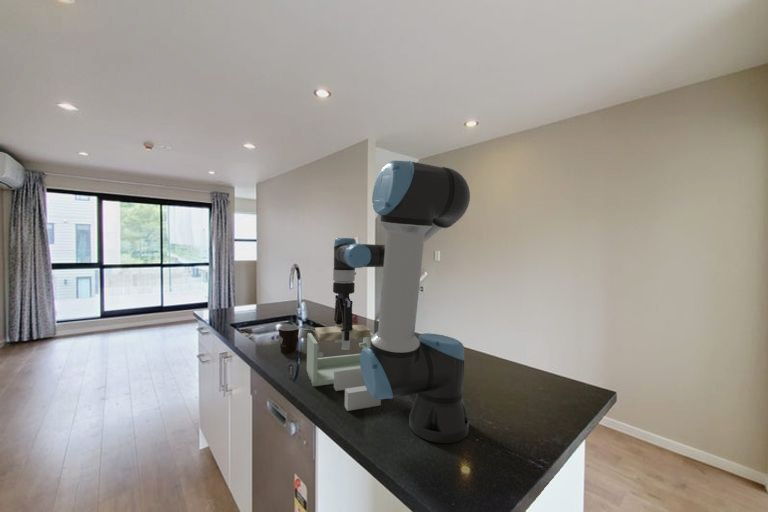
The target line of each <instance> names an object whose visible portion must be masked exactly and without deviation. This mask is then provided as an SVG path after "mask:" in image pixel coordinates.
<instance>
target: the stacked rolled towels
mask: <svg viewBox="0 0 768 512" xmlns="http://www.w3.org/2000/svg"><path fill="white" fill-rule="evenodd" d="M352 328H353V330H351V331H350V340H351V339H360V338H361V339H363V337H370V332H371V329H370V328H369V327H367V326H366V325H364V324H352ZM342 329H343V326H336V325H334V326H324V327H322V326H321V327H314V335H315V337H316V338H317V340H318V342H325V341H335V340H339V339H342V332H341V330H342Z"/></svg>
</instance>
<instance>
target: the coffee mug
mask: <svg viewBox="0 0 768 512" xmlns="http://www.w3.org/2000/svg"><path fill="white" fill-rule="evenodd" d="M299 334H300V326H298V325H291V324H290V325H289V324H288V325H282V326H279V327H278V335H279V337H278V338H279V346H280V353H282V354H293V352H294V353H296V352H297V349H298V348H297V347H298V343H299ZM295 351H296V352H295Z"/></svg>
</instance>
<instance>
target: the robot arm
mask: <svg viewBox="0 0 768 512" xmlns="http://www.w3.org/2000/svg"><path fill="white" fill-rule="evenodd" d="M372 189H373V190H372V197H371V200H372V201H371V202H372V208H373V210H374V212H375V213H376V215H379V216H380V224H381V226H382V227H383V228H384V229H385V231H386V232H385V233H386V234H385V242H384V243H385V244H371V243H370V244H369V243H356V242H357V241H356V239H355V238H351V237H336V238H335V239H334V243H333V269H332V270H333V273H332V280H333V283H332V284H333V285H332V292H333V293H334V294H336V295H335V297H334V298H335V303H334V318H333V319H334V320H333V321H335V322H334V323H335V326H343V329H342V330H341V332H342V339H339V340H334V341H335V343H341V351H346V350H347V351H348V350H351V349H350V348H351V339H350V331H351V330H353V328H352V325H353V302H354V301H353V300H351V298H350V294H354V293H355V285H356V284H355V282H354V281H355V276H356V275H357V272H356V269H362V268H382V269H383V270H382V280H381V282H382V283H381V291H380V292H381V293H380V303H379V305H380V306H379V314H378V325H377V326H378V328H377V331H376V332H375V333H373V334H374V335H372V337H371V344H370V348H365V349H363V348H362V349H361V352H360V353H359V354H360V367H361V373H362V377H363V381H364V384H365V386H366V389H367V390H368V392H369V394H370V395H371V396H372V397H373V398H375V399H378V400H380V399H381V400H385V399H387V400H388V399H389V400H392V399H393V398H398V397H403V396H408V395H414V394H416V395H415V398H414V401H413V403H412V407H411V410H410V411H409V417H408V421H409V422H408V425H409V428H410V430H411V431H412V432H413V433H414V434H415V435H416V436H417V437H419V438H421V439H424V440H426V441H428V442H431V443H436V444H437V443H438V444H453V443H458V442H460V441H462V440H464V439H465V438H467V436H468V435H469V430H470V428H469V427H470V423H469V422H470V421H469V417H468V413H467V410H466V407H465V406H466V405H465V403H464V398H463V396H464V395H463V394H464V375H465V374H464V373H465V361H466V359H465V347H464V344H463V343H462V342H461V341H460V340H458V339H457V338H453V337H450V336H447V335H443V334H437V333H429V332H428V333H426V332H425V333H421V334H419V335H418V337H417V336H416V335H415V333H416V321H417V314H418V313H417V312H418V311H417V310H418V301H419V292H420V283H421V274H422V273H421V272H422V265H423V264H422V263H423V253H424V245H425V244H424V243H425V242H426V241H428V240H429V239H430V238H432V237H433V236H434V235H435V234H437V233H438V232H439V231H441V230H442V229H448V228H450V227H452V226H453V225H454V224H456V223H457V222H458V221H459V220H460V219H462V217H463V216H464V214H465V213H466V211H467V209H468V207H469V205H470V199H471V192H470V187H469V185H468V182H467V180H466V179H465V177H464V176H463V175H462V174H461V173H459V172H458V171H456V170H455V169H453V168H451V167H445V166H437V165H431V164H428V163H427V164H426V163H421V162H415V161H412V160H391V161H389V162H387V163H386V164H385V165H384V166H382V168H381V170H380V172H378V175H377V177H376V179H375V181H374V186H373V188H372Z"/></svg>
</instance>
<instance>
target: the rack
mask: <svg viewBox="0 0 768 512" xmlns="http://www.w3.org/2000/svg"><path fill="white" fill-rule="evenodd" d="M333 389H334V390H335V392H337V391H344V408H345V410H346V411H347V412H348V411H355V410H361V409H367V408H373V407H378V406H381V405H382V399H380V400H378V399H375V398H373V397H372V396H371V395H370V394H369V392H368V390H367V389H366V386H365V384H364V381H363V377H362V373H361V368H360V369H352V370H344V371H336V372H334V384H333Z"/></svg>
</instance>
